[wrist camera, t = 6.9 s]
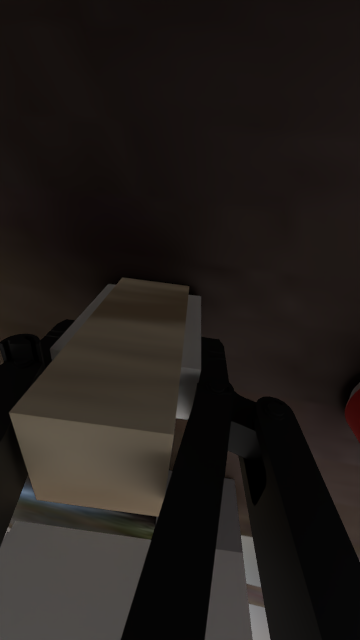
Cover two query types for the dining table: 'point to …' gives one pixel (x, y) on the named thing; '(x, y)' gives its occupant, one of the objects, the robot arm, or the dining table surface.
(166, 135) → the dining table surface
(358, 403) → the beverage can
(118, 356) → the block
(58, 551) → the cabinet
